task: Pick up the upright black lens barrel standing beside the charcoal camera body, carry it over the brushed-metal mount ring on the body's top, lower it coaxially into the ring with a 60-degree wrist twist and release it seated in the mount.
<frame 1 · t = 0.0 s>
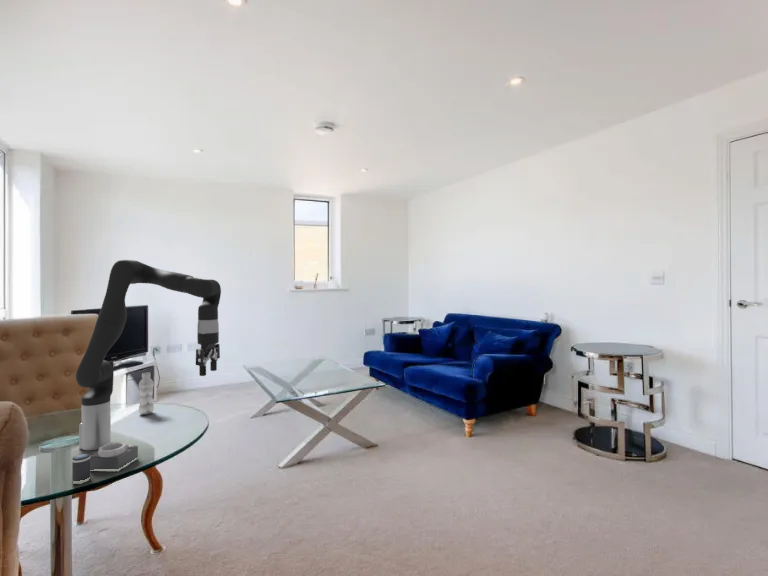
hand: (208, 373, 155), 29 cm above the table, tool pointing down, fingers open, 8 cm apart
lens: (81, 481, 130), on the table
plastic bottle: (146, 414, 196), on the table
camera body: (114, 465, 141), on the table
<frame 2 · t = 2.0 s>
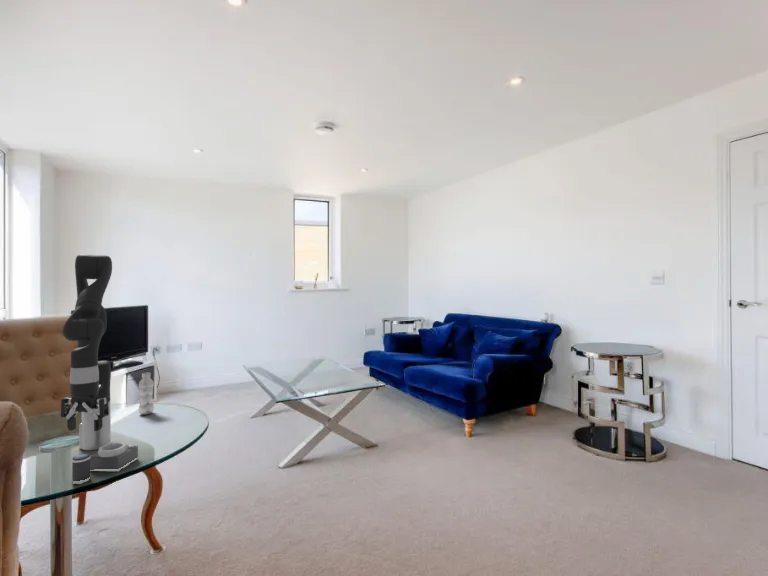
hand: (85, 430, 130), 16 cm above the table, tool pointing down, fingers open, 8 cm apart
nothing on the table moved.
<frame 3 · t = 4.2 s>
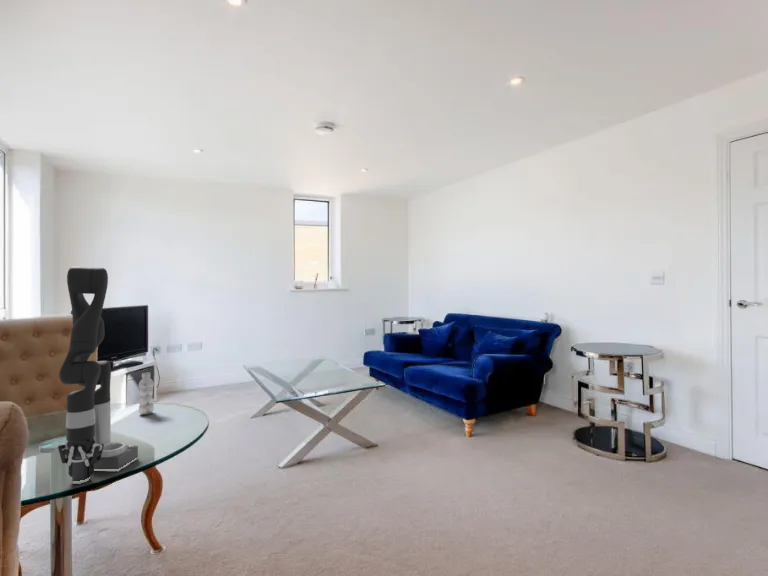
hand: (81, 475, 129), 2 cm above the table, tool pointing down, fingers closed on lens, 4 cm apart
lens: (81, 481, 130), on the table, touching gripper
everything else where it was.
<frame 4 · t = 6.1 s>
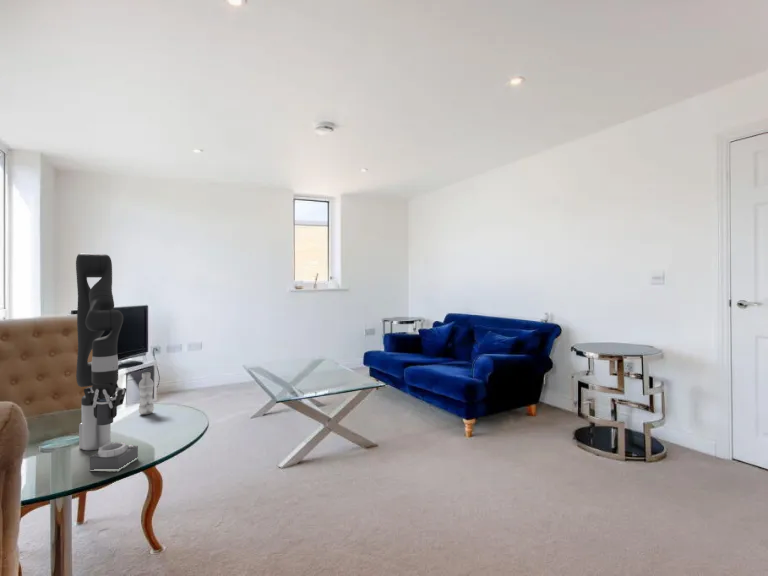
hand: (105, 417, 138), 18 cm above the table, tool pointing down, fingers closed on lens, 4 cm apart
lens: (105, 422, 138), point 16 cm above the table, touching gripper
everything else where it was.
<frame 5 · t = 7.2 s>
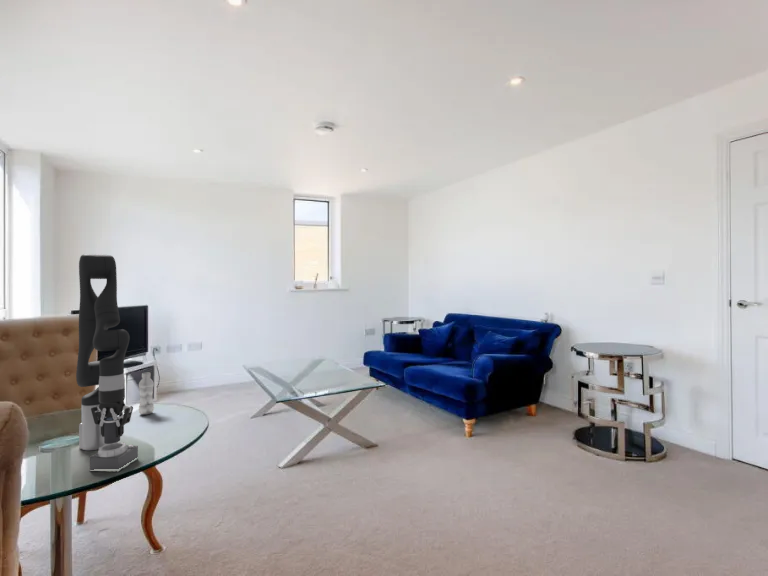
hand: (112, 435, 140), 11 cm above the table, tool pointing down, fingers closed on lens, 4 cm apart
lens: (112, 441, 140), point 9 cm above the table, touching gripper
everything else where it was.
when the fingers open (8 cm above the table, at t = 8.3 s): lens drops 1 cm, resting on camera body.
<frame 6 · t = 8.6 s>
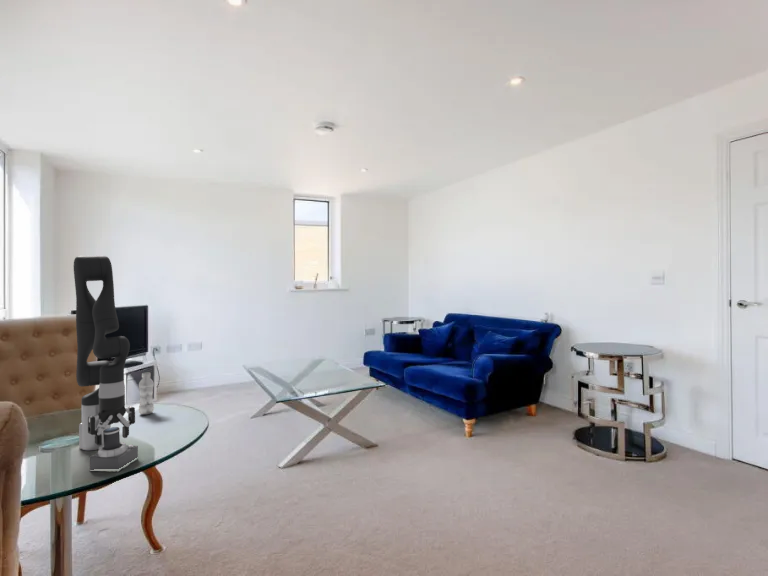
hand: (112, 441, 140), 9 cm above the table, tool pointing down, fingers open, 7 cm apart
lens: (112, 452, 140), point 5 cm above the table, touching camera body
everything else where it was.
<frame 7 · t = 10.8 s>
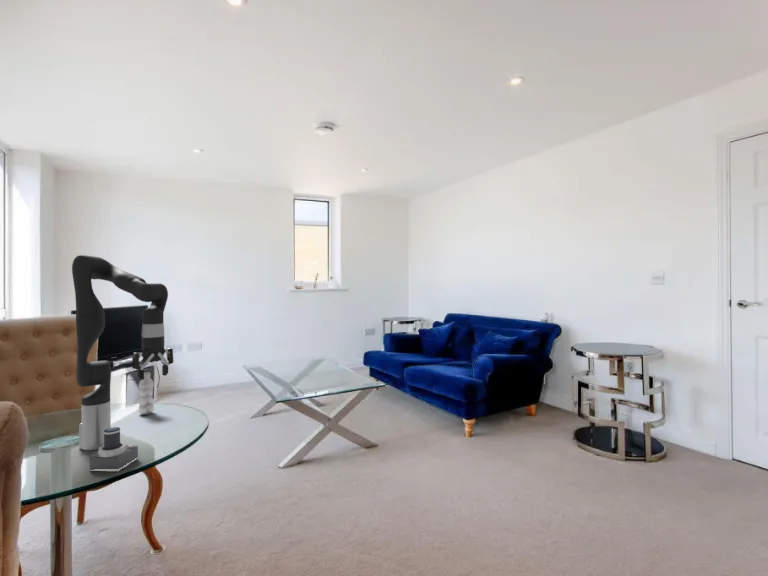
hand: (153, 377, 155), 28 cm above the table, tool pointing down, fingers open, 8 cm apart
nothing on the table moved.
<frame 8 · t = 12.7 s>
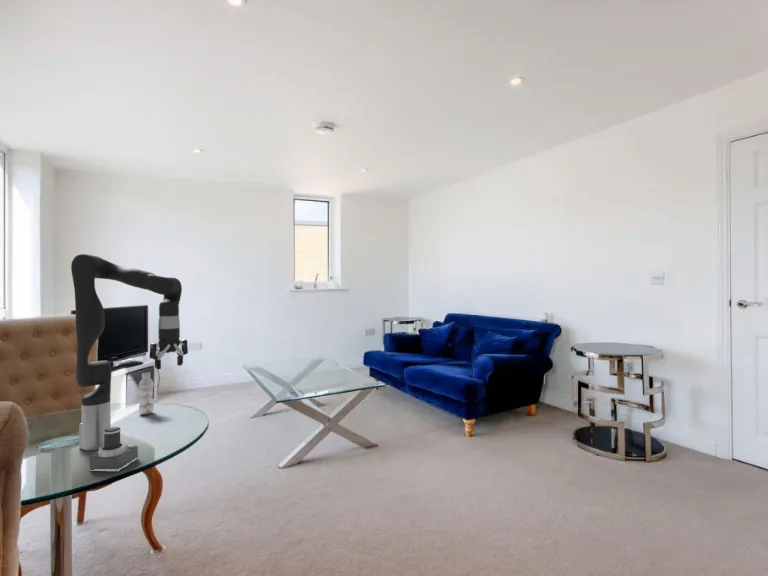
hand: (169, 367, 162), 30 cm above the table, tool pointing down, fingers open, 8 cm apart
nothing on the table moved.
at the end: lens 0.1 cm from the target spot on the camera body, point 5.0 cm above the camera body's base; lens tilted 1°; the gripper is holding nothing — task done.
